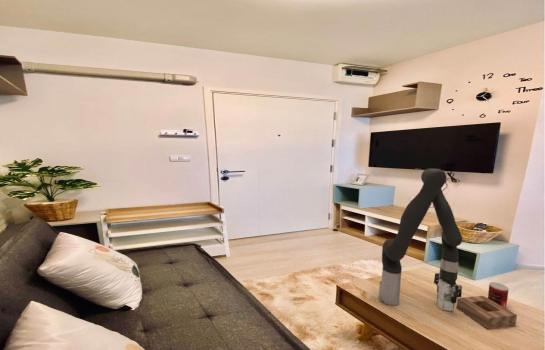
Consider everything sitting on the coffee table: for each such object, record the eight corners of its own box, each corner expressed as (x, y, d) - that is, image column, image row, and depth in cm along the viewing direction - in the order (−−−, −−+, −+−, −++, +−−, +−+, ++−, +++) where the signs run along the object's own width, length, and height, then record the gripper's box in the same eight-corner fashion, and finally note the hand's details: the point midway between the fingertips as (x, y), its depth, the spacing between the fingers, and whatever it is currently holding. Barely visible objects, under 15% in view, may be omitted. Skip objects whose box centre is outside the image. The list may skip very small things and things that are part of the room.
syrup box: (447, 305, 136) (450, 278, 134) (454, 312, 130) (457, 284, 128) (436, 304, 136) (438, 278, 135) (442, 311, 130) (444, 283, 129)
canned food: (502, 303, 138) (505, 284, 137) (508, 311, 131) (511, 291, 130) (485, 299, 142) (487, 280, 140) (490, 307, 134) (492, 287, 133)
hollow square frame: (487, 329, 117) (488, 318, 117) (456, 308, 133) (457, 298, 132) (515, 326, 120) (516, 315, 120) (482, 305, 136) (483, 295, 135)
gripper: (431, 262, 137) (429, 291, 139) (454, 275, 123) (451, 307, 125) (443, 261, 138) (441, 290, 140) (468, 274, 124) (464, 305, 126)
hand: (446, 298), depth 132 cm, fingers open, 8 cm apart
